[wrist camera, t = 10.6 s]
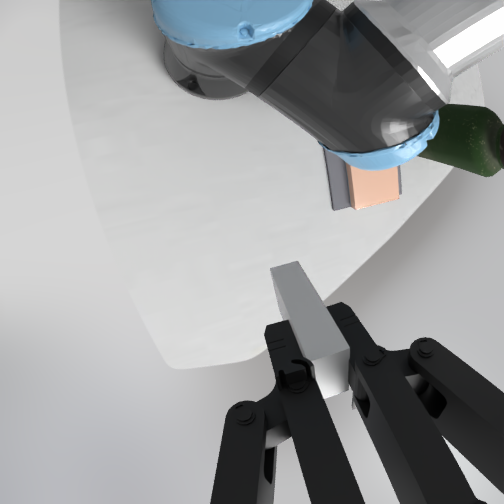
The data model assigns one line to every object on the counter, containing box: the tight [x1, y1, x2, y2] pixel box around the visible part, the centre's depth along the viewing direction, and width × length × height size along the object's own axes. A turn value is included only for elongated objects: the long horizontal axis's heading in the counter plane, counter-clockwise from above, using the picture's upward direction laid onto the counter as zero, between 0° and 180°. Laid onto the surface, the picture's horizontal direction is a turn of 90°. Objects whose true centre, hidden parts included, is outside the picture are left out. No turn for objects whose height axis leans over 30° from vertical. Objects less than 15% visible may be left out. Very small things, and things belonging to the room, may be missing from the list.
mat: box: [324, 148, 402, 211], centre depth 41 cm, size 14×14×1 cm
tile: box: [345, 162, 399, 210], centre depth 41 cm, size 8×2×9 cm
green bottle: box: [417, 104, 504, 177], centre depth 29 cm, size 10×10×25 cm
